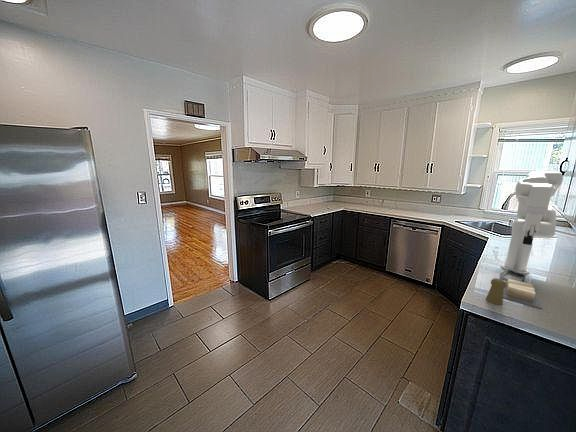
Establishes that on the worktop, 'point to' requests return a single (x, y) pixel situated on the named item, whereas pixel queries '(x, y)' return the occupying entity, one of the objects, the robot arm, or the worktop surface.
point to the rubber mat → (535, 303)
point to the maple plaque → (520, 290)
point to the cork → (496, 292)
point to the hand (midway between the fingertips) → (526, 244)
